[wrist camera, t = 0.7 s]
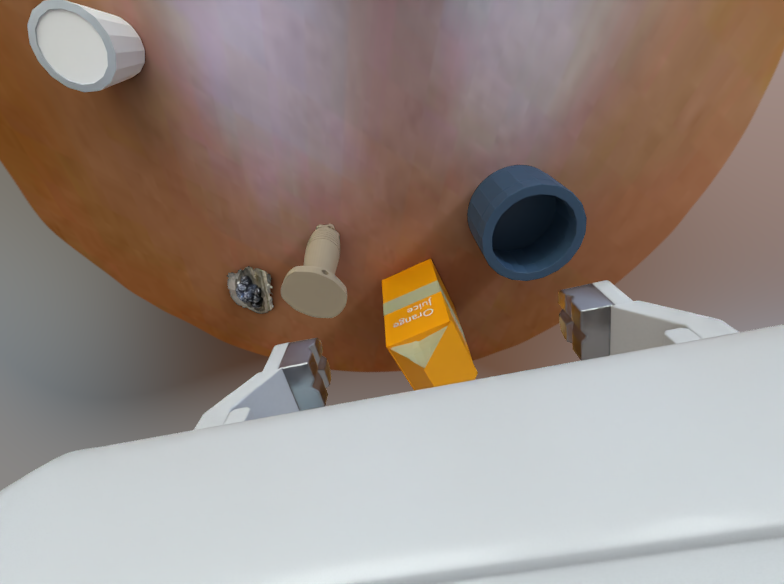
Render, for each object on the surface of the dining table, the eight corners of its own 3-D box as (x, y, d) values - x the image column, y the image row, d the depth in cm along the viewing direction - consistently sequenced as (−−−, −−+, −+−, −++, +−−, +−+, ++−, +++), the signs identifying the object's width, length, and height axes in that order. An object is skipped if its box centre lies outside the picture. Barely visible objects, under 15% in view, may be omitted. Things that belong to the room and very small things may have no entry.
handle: (341, 258, 54) (333, 325, 42) (296, 238, 52) (273, 301, 40) (357, 229, 52) (354, 289, 40) (311, 206, 50) (292, 262, 38)
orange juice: (406, 325, 61) (423, 435, 44) (380, 280, 56) (387, 383, 40) (455, 305, 59) (491, 410, 42) (431, 257, 55) (461, 353, 38)
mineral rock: (263, 258, 54) (259, 265, 52) (289, 305, 58) (287, 313, 56) (217, 273, 55) (212, 280, 53) (246, 319, 59) (243, 327, 57)
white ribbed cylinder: (165, 52, 41) (132, 55, 35) (126, 100, 43) (88, 109, 37) (102, -14, 38) (53, -24, 32) (62, 40, 40) (10, 40, 34)
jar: (463, 175, 49) (478, 197, 43) (558, 155, 49) (589, 174, 42) (471, 258, 55) (486, 289, 49) (556, 241, 55) (583, 270, 48)
